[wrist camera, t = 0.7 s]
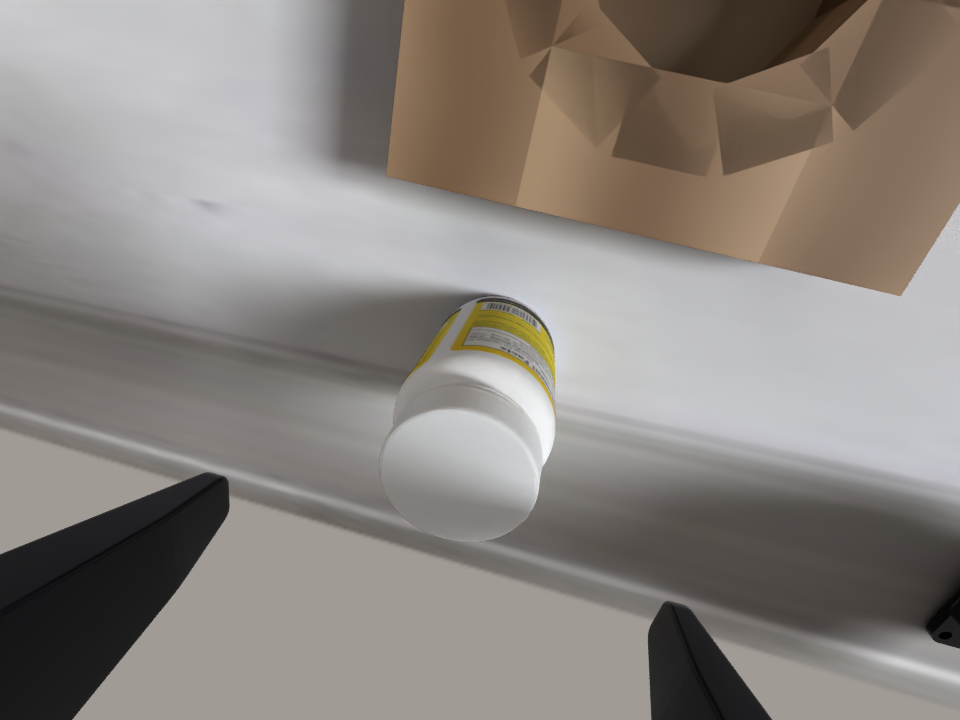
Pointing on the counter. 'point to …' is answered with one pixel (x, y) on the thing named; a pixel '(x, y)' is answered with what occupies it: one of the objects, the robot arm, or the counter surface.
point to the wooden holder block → (697, 121)
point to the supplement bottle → (474, 424)
